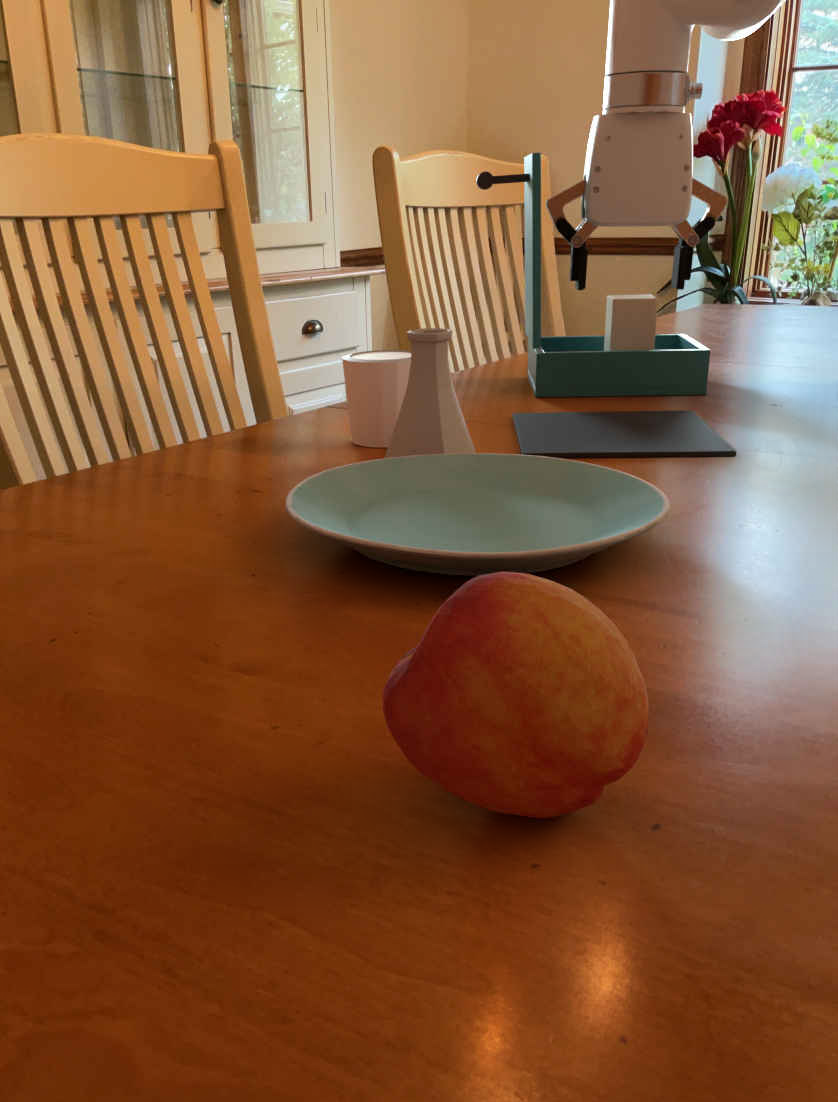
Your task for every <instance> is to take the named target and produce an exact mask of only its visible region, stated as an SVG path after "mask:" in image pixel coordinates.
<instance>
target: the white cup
mask: <svg viewBox="0 0 838 1102" xmlns="http://www.w3.org/2000/svg"><path fill="white" fill-rule="evenodd" d="M341 360H342V369H343V378H344V386H345V392H346V393H345V394H346V402H347V410H348V418H349V425H350V433H351V441H352V443H353V444H354V445H357V446H360V447H367V448H379V449H380V448H381V449H382V448H388V446H389V443H390V440H391V437H392V434H393V431H394V428H395V425H396V422H397V419H398V416H399V412H400V409H401V406H402V402H403V399H404V396H405V393H406V389H407V385H408V378H409V372H410V366H411V350H406V349H405V350H404V349H377V350H375V349H374V350H364V351H359V352H354V353H349V354H345V355H342V356H341Z"/></svg>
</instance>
